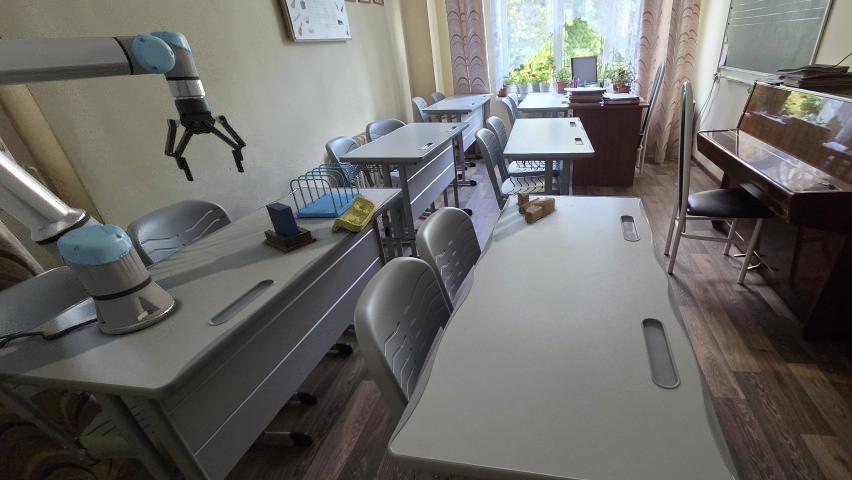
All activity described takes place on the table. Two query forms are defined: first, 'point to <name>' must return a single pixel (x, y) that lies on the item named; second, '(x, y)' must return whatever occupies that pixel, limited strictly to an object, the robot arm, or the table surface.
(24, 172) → the robot arm
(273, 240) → the dark brown block holder
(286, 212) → the navy blue rectangular block
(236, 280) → the table surface
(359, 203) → the plastic component
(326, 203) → the file sorter
